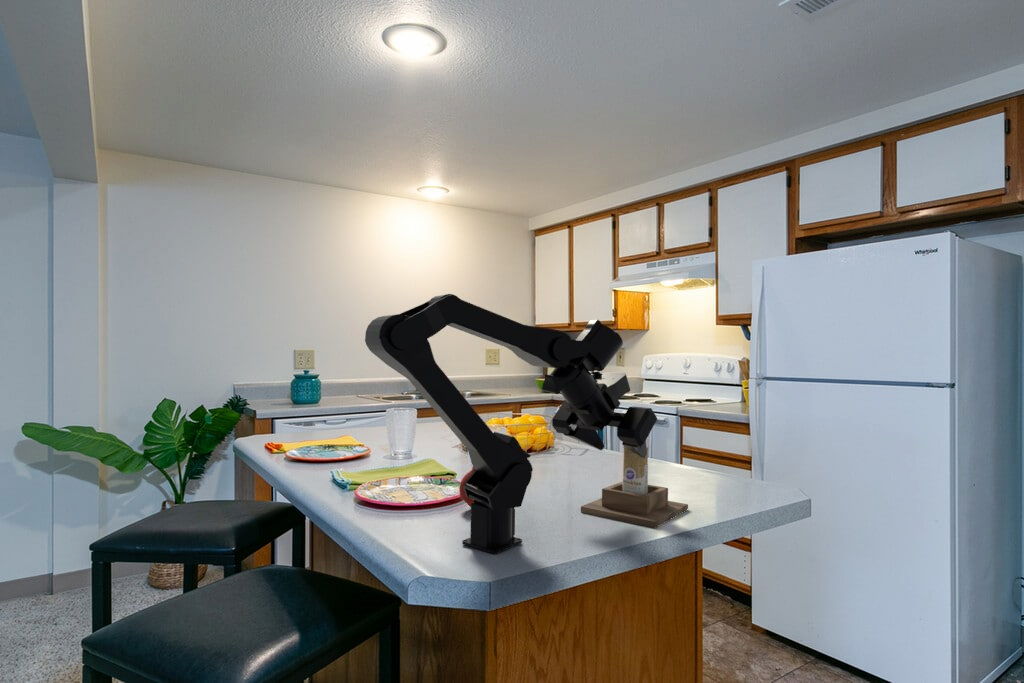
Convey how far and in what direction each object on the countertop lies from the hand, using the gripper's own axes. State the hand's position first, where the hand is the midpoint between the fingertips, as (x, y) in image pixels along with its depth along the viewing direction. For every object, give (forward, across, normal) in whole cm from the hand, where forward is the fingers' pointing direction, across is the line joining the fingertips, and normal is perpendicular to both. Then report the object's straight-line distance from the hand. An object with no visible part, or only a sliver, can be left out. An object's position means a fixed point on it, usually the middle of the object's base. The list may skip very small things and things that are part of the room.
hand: (623, 451), depth 102 cm
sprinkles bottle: (+10, 0, +5) cm, 12 cm away
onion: (-5, +19, +20) cm, 28 cm away
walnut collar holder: (+10, 0, +5) cm, 12 cm away
